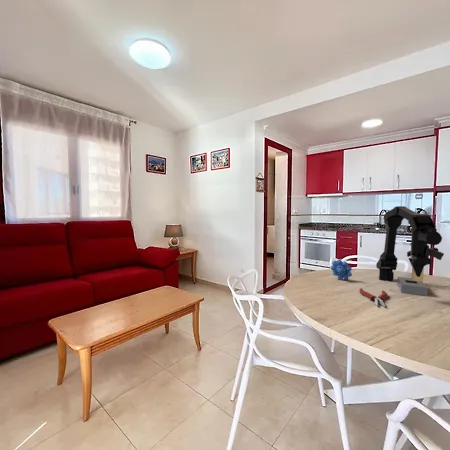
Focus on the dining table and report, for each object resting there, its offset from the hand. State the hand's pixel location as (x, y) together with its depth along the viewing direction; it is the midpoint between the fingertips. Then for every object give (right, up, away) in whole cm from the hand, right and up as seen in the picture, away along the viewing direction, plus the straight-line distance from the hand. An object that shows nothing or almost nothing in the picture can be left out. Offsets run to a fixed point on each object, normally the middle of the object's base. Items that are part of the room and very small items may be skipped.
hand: (417, 275), depth 111 cm
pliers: (-20, -12, +1) cm, 23 cm away
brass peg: (0, -2, 0) cm, 2 cm away
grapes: (-21, -9, +31) cm, 38 cm away
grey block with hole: (+7, -10, +13) cm, 18 cm away
